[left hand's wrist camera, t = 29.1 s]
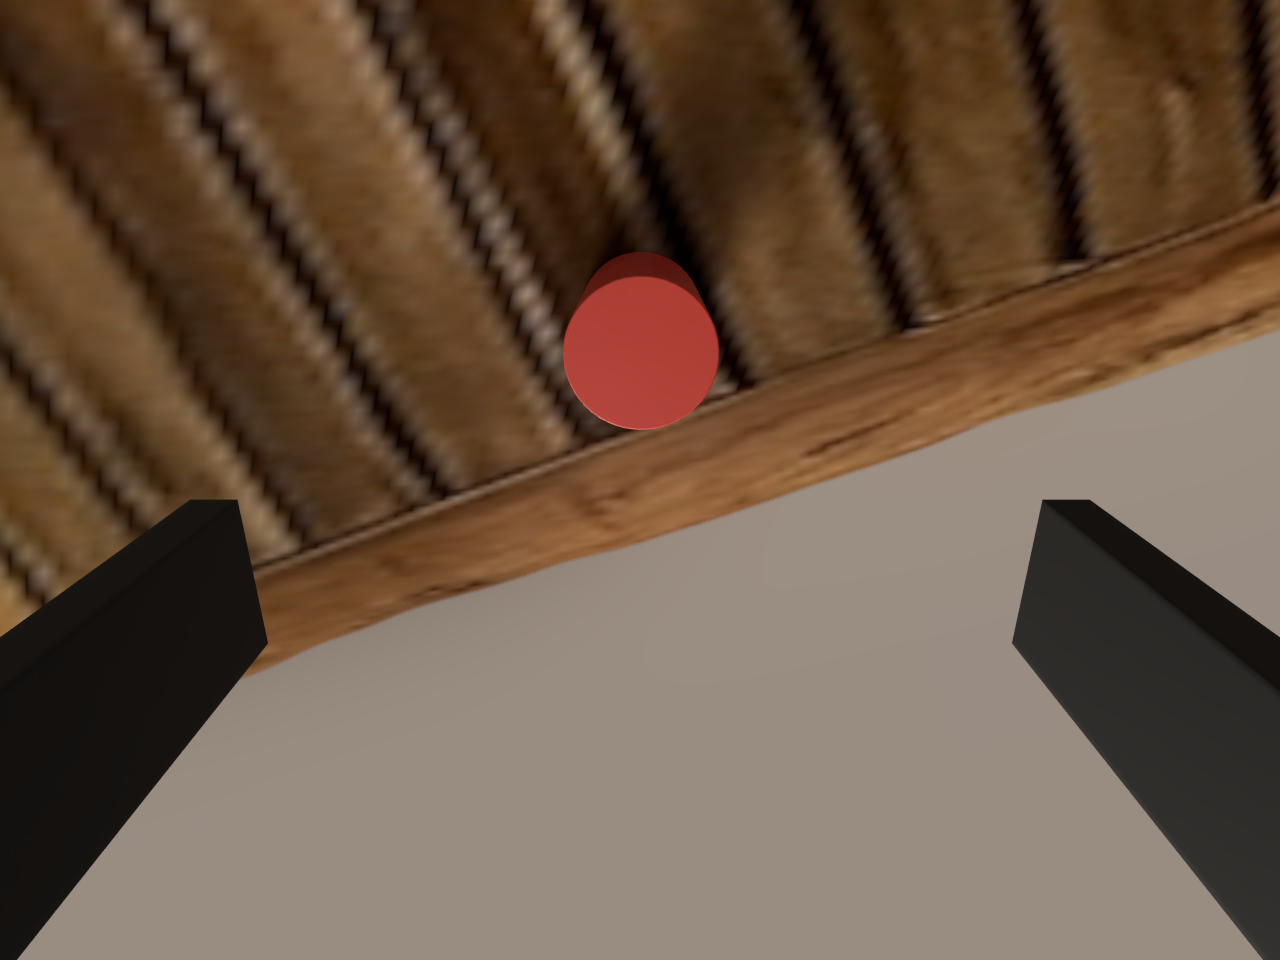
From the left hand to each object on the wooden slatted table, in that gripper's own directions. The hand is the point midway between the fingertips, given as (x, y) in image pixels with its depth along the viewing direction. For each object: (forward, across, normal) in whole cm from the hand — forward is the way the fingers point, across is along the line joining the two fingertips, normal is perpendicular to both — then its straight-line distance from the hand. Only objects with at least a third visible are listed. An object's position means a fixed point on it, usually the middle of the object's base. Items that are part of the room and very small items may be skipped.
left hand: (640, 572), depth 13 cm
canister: (+26, 0, 0) cm, 26 cm away
